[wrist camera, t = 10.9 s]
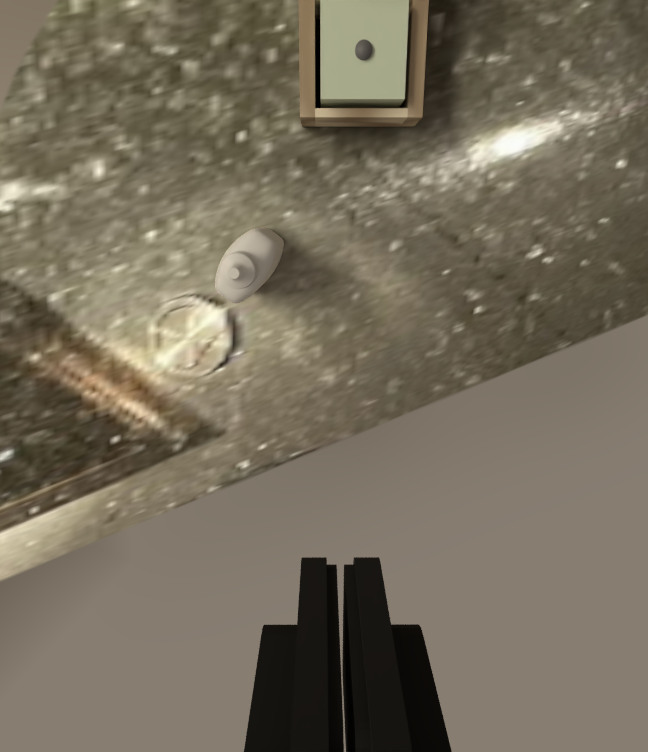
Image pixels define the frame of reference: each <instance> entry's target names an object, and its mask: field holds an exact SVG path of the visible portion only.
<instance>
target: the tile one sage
mask: <svg viewBox="0 0 648 752" xmlns="http://www.w3.org/2000/svg"><path fill="white" fill-rule="evenodd" d="M408 13H409V0H320V86H321V108H399V107H400V106H401V104H402V102H403V101H404V99H405V81H406V59H407V36H408Z"/></svg>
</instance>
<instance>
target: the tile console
mask: <svg viewBox="0 0 648 752" xmlns="http://www.w3.org/2000/svg"><path fill="white" fill-rule="evenodd" d="M428 5H429V0H409V13H408V36H407V59H406V81H405V99H404V101H403V102H402V104H401V108H316V51H315V19H320V0H299V60H300V119H301V123H302V127H414V126H415V125H416V124H417V123H418V122H419V120H420V119H421V118H422V116H423V97H424V79H425V60H426V42H427V24H428Z"/></svg>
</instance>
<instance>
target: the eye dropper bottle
mask: <svg viewBox="0 0 648 752" xmlns="http://www.w3.org/2000/svg"><path fill="white" fill-rule="evenodd" d="M283 248H284V241H283V239H282V238H281V237H280V236H278V235H277V234H276V233H274V232H273V231H272V230H270V229H269V228H266V227H263V228H255V229H251V230H249V231H248V232H246V233H245V234H243V235H242V236H240V237H239V238H238V239H237V240H236V241H235V242H234V243H233V244H232V245H231V246H230V247H229V248H228V250H227V251H226V253H225V254H224V256H223V258H222V260H221V262H220V264H219V267H218V270H217V274H216V279H215V288H216V291H217V292H218V293H219V294H221V295H222V296H223V297H225V298H226V299H228V300H229V301H231V302H233V303H240V302H242V301H244V300H245V299H247V298H248V297H250V296H251V295H252V294H254V293H255V292H256V291H257V290H258V289H259V288H260V287H261V286H262V285H263V284H264V283H265V282H266V281H267V280H268V279H269V278H270V276H271V275H272V274H273V272H274V271H275V269H276V267H277V266H278V264H279V261H280V259H281V256H282V253H283Z"/></svg>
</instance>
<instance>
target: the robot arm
mask: <svg viewBox="0 0 648 752" xmlns="http://www.w3.org/2000/svg"><path fill="white" fill-rule="evenodd" d="M326 562H327V560H326V558H302V561H301V576H300V592H299V607H298V623H297V625H264V626H263V629H262V635H261V641H260V648H259V655H258V662H257V669H256V675H255V682H254V689H253V695H252V702H251V709H250V715H249V722H248V729H247V736H246V742H245V749H244V752H344V745H343V714H342V688H341V665H340V639H339V616H338V590H337V568H336V565H327V563H326ZM343 609H344V610H343V693H344V714H345V737H346V752H451V747H450V744H449V739H448V735H447V731H446V728H445V723H444V719H443V715H442V711H441V707H440V702H439V699H438V694H437V691H436V686H435V682H434V678H433V674H432V670H431V666H430V662H429V658H428V654H427V649H426V645H425V641H424V637H423V634H422V630H421V627H420V626H419V625H391V622H390V617H389V611H388V605H387V599H386V594H385V588H384V581H383V576H382V570H381V564H380V559H379V558H354V564H353V565H344V606H343Z"/></svg>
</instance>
